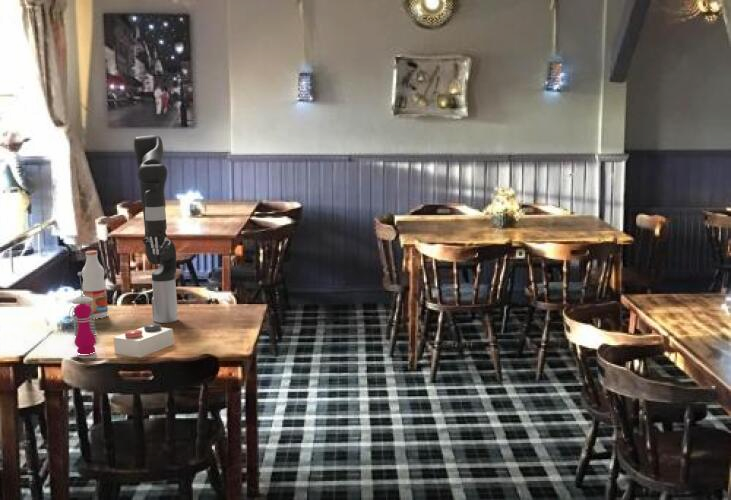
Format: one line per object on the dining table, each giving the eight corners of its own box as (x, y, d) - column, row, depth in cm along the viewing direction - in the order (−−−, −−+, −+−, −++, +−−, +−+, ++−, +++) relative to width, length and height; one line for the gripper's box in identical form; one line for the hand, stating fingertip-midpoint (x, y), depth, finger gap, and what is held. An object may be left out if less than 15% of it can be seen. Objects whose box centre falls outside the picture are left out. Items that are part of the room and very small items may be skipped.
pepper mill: (78, 351, 345) (73, 297, 342) (98, 350, 346) (94, 296, 342) (74, 356, 338) (69, 302, 335) (94, 355, 339) (90, 301, 335)
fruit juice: (90, 314, 401) (84, 249, 396) (111, 314, 400) (106, 249, 395) (81, 319, 392) (75, 253, 387) (103, 319, 391) (97, 253, 386)
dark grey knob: (141, 340, 348) (140, 326, 347) (152, 336, 353) (151, 322, 352) (154, 342, 345) (153, 328, 344) (165, 338, 350) (164, 324, 349)
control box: (114, 353, 341) (113, 337, 340) (149, 341, 356) (147, 325, 355) (139, 357, 335) (138, 341, 334) (173, 344, 350) (172, 328, 349)
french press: (103, 332, 370) (98, 270, 365) (81, 340, 360) (76, 276, 355) (84, 330, 374) (79, 268, 370) (63, 337, 364) (57, 274, 360)
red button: (122, 347, 340) (121, 333, 339) (134, 343, 345) (133, 329, 344) (135, 349, 337) (133, 335, 336) (146, 345, 342) (145, 330, 341)
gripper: (135, 218, 351) (138, 264, 354) (162, 220, 344) (165, 267, 347) (149, 216, 357) (152, 261, 360) (176, 217, 351) (179, 263, 354)
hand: (158, 263), depth 354 cm, fingers closed
